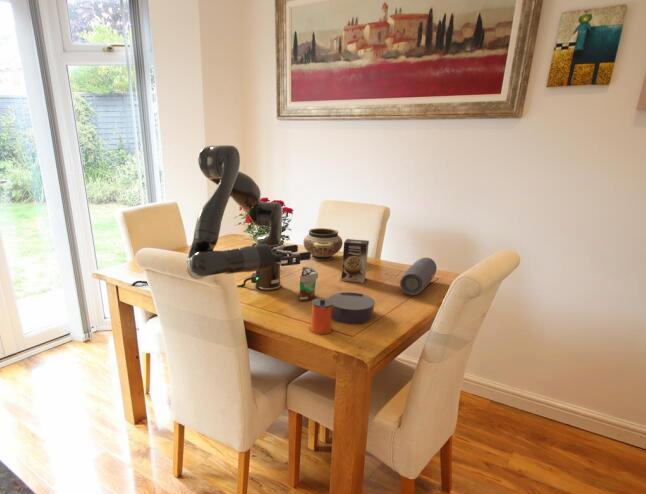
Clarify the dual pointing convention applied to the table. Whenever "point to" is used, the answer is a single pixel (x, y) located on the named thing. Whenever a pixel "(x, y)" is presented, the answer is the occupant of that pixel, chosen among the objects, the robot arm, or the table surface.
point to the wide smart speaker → (352, 307)
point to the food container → (307, 283)
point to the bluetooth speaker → (418, 276)
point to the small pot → (321, 315)
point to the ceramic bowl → (322, 243)
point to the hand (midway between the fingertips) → (303, 251)
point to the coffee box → (354, 260)
